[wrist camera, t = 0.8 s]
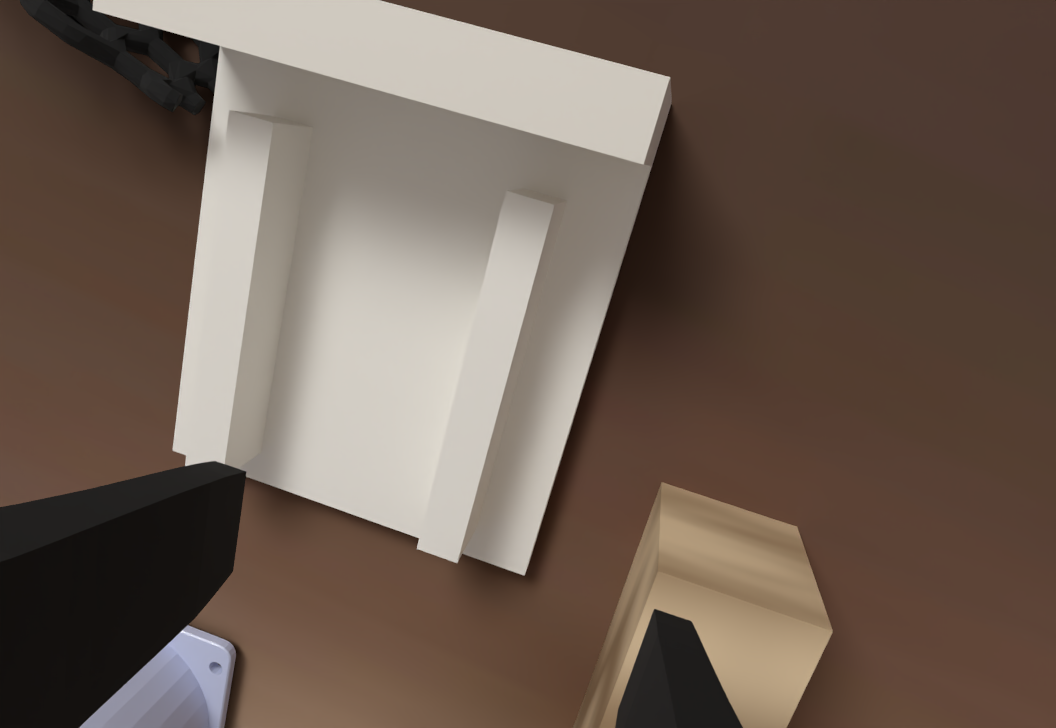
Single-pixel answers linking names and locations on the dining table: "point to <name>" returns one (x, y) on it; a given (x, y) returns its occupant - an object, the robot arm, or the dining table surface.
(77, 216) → the dining table surface
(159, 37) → the decorative element
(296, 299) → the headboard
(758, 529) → the tan block
